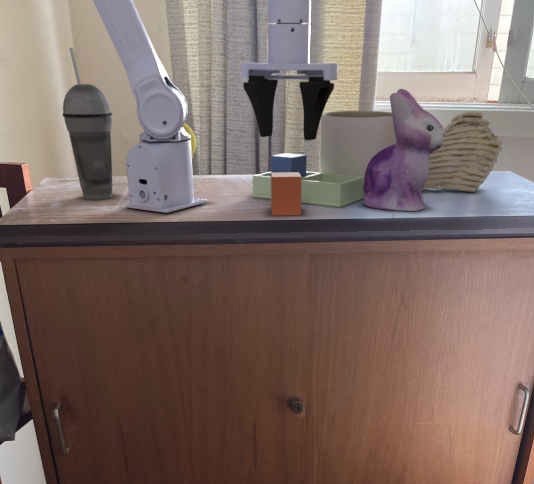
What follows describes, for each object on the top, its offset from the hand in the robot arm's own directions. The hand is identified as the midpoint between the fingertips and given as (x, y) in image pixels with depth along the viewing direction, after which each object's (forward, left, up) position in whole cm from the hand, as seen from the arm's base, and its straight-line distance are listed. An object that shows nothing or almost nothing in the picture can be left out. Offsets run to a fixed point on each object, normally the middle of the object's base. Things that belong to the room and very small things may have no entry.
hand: (287, 138), depth 98 cm
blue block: (+6, +3, -8) cm, 11 cm away
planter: (+17, -3, -9) cm, 20 cm away
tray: (+6, 0, -9) cm, 11 cm away
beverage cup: (-11, +28, -9) cm, 32 cm away
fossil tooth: (+24, -17, -9) cm, 31 cm away
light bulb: (+3, +23, -9) cm, 25 cm away
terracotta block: (-6, -3, -9) cm, 11 cm away
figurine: (+7, -15, -9) cm, 19 cm away
